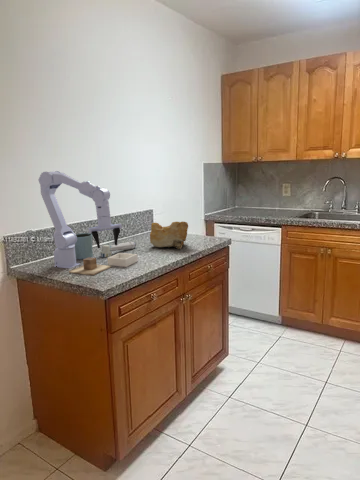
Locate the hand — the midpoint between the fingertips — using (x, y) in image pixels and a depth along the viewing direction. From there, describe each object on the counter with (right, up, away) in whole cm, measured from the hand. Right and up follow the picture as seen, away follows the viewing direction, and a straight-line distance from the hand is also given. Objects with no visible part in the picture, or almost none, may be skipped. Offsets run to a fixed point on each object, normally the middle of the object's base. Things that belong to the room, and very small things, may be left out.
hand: (107, 246), depth 163 cm
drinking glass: (-17, -7, +23) cm, 29 cm away
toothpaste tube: (0, -4, +32) cm, 32 cm away
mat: (-7, -11, -1) cm, 13 cm away
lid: (-7, -10, -1) cm, 13 cm away
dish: (+6, -9, +9) cm, 13 cm away
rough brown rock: (+29, -1, +42) cm, 51 cm away
